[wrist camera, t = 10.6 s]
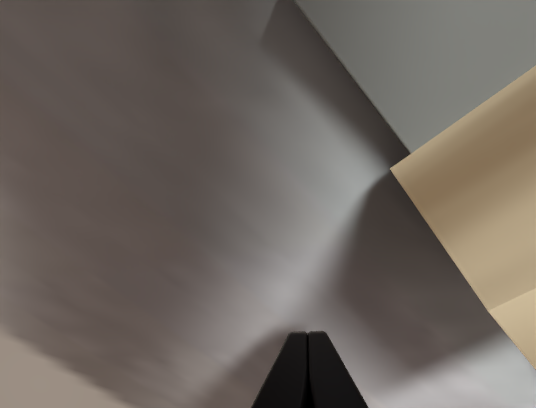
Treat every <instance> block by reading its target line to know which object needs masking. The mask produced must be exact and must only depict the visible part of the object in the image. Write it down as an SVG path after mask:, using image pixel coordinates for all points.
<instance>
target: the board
mask: <svg viewBox="0 0 536 408" xmlns="http://www.w3.org/2000/svg"><path fill="white" fill-rule="evenodd" d="M293 1H294V2H295V3H296V5H297V6H298V7H299V9H300V10H301V11H302V13H303V14H304V15H305V16H306V18H307V19H308V20H309V22H310V23H311V24H312V26H313V27H314V28H315V30H316V31H317V32H318V34H319V35H320V36H321V37H322V39H323V40H324V41H325V43H326V44H327V45H328V47H329V48H330V49H331V51H332V52H333V53H334V55H335V56H336V57H337V58H338V60H339V61H340V62H341V64H342V65H343V66H344V68H345V69H346V70H347V72H348V73H349V74H350V76H351V77H352V78H353V79H354V81H355V82H356V83H357V85H358V86H359V87H360V89H361V90H362V91H363V93H364V94H365V95H366V97H367V98H368V99H369V100H370V102H371V103H372V104H373V106H374V107H375V108H376V110H377V111H378V112H379V114H380V115H381V116H382V118H383V119H384V120H385V121H386V123H387V124H388V125H389V127H390V128H391V129H392V131H393V132H394V133H395V135H396V136H397V137H398V139H399V140H400V141H401V142H402V144H403V145H404V146H405V148H406V149H407V150H408V152H409V153H410V154H411V153H413V152H414V151H415V150H417V149H418V148H420V147H421V146H423V145H424V144H425V143H427V142H428V141H430V140H431V139H432V138H434V137H435V136H437V135H438V134H440V133H441V132H442V131H444V130H445V129H447V128H448V127H449V126H451V125H452V124H454V123H455V122H457V121H458V120H459V119H461V118H462V117H464V116H465V115H466V114H468V113H469V112H471V111H472V110H473V109H475V108H476V107H478V106H479V105H481V104H482V103H483V102H485V101H486V100H488V99H489V98H490V97H492V96H493V95H495V94H496V93H498V92H499V91H500V90H502V89H503V88H505V87H506V86H507V85H509V84H510V83H512V82H513V81H515V80H516V79H517V78H519V77H520V76H522V75H523V74H524V73H526V72H527V71H529V70H530V69H531V68H533V67H534V66H536V0H293Z"/></svg>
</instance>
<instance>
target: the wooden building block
mask: <svg viewBox="0 0 536 408" xmlns="http://www.w3.org/2000/svg"><path fill="white" fill-rule="evenodd" d="M390 170H391V171H392V173H393V174H394V176H395V177H396V178H397V180H398V181H399V183H400V184H401V186H402V187H403V189H404V190H405V191H406V193H407V194H408V196H409V197H410V199H411V200H412V202H413V203H414V205H415V206H416V207H417V209H418V210H419V212H420V213H421V215H422V216H423V218H424V219H425V221H426V222H427V223H428V225H429V226H430V228H431V229H432V231H433V232H434V234H435V235H436V236H437V238H438V239H439V241H440V242H441V244H442V245H443V247H444V248H445V250H446V251H447V252H448V254H449V255H450V257H451V258H452V260H453V261H454V263H455V264H456V266H457V267H458V268H459V270H460V271H461V273H462V274H463V276H464V277H465V279H466V280H467V282H468V283H469V284H470V286H471V287H472V289H473V290H474V292H475V293H476V295H477V296H478V297H479V299H480V300H481V302H482V303H483V305H484V306H485V308H486V309H487V311H488V312H489V313H490V314H491V316H492V317H493V318H494V319H495V320H496V322H497V323H498V324H499V325H500V327H501V328H502V329H503V330H504V331H505V333H506V334H507V335H508V336H509V338H510V339H511V340H512V341H513V343H514V344H515V345H516V346H517V347H518V349H519V350H520V351H521V352H522V354H523V355H524V356H525V357H526V358H527V360H528V361H529V362H530V363H531V365H532V366H533V367H534V368H535V370H536V66H534V67H533V68H531V69H530V70H529V71H527V72H526V73H524V74H523V75H522V76H520V77H519V78H517V79H516V80H515V81H513V82H512V83H510V84H509V85H507V86H506V87H505V88H503V89H502V90H500V91H499V92H498V93H496V94H495V95H493V96H492V97H490V98H489V99H488V100H486V101H485V102H483V103H482V104H481V105H479V106H478V107H476V108H475V109H473V110H472V111H471V112H469V113H468V114H466V115H465V116H464V117H462V118H461V119H459V120H458V121H457V122H455V123H454V124H452V125H451V126H449V127H448V128H447V129H445V130H444V131H442V132H441V133H440V134H438V135H437V136H435V137H434V138H432V139H431V140H430V141H428V142H427V143H425V144H424V145H423V146H421V147H420V148H418V149H417V150H415V151H414V152H413V153H411V154H410V155H408V156H407V157H406V158H404V159H403V160H401V161H400V162H399V163H397V164H396V165H394V166H393V167H391V168H390Z"/></svg>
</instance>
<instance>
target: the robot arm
mask: <svg viewBox="0 0 536 408" xmlns="http://www.w3.org/2000/svg"><path fill="white" fill-rule="evenodd" d="M251 408H368V406H367V404H366V402H365V401H364V399H363V397H362V395H361V393H360V392H359V390H358V388H357V386H356V385H355V383H354V381H353V379H352V377H351V376H350V374H349V372H348V370H347V369H346V367H345V365H344V363H343V361H342V360H341V358H340V356H339V354H338V353H337V351H336V349H335V347H334V346H333V344H332V342H331V340H330V338H329V337H328V335H327V333H326V332H324V331H311V332H309V333H308V334H307V333H306V332H291V333H289V335H288V337H287V339H286V341H285V343H284V345H283V346H282V348H281V350H280V352H279V354H278V356H277V358H276V360H275V362H274V364H273V366H272V368H271V370H270V372H269V374H268V376H267V378H266V380H265V382H264V384H263V385H262V387H261V389H260V391H259V393H258V395H257V397H256V399H255V401H254V403H253V405H252V407H251Z"/></svg>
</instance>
